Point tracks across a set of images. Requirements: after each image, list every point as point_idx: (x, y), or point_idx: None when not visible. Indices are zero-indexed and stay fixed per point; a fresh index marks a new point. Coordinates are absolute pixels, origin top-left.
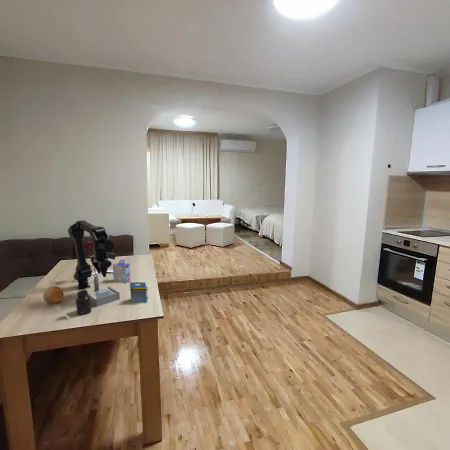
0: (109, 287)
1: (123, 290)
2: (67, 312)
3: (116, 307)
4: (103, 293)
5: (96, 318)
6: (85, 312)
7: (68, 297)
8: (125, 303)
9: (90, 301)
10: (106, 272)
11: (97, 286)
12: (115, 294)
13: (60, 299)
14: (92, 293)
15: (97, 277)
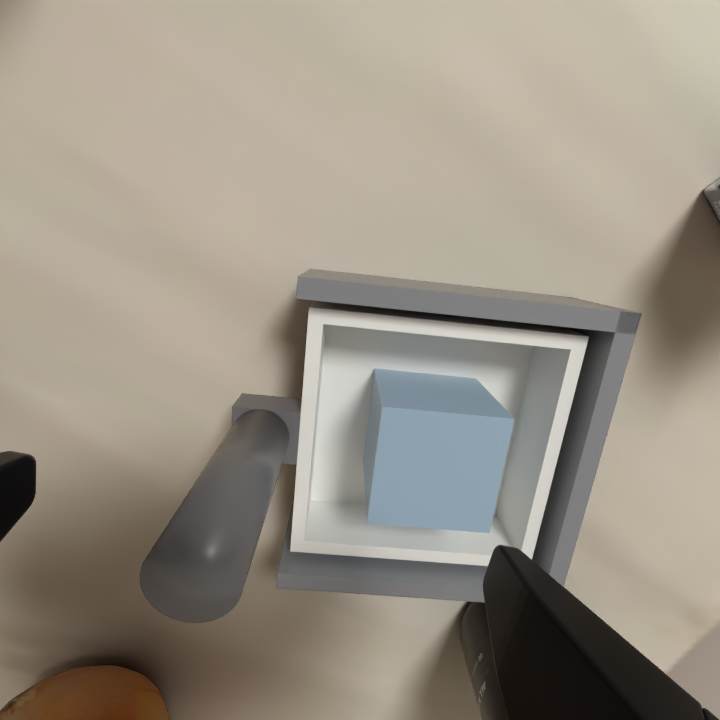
0: (348, 300)
1: (344, 69)
2: (377, 683)
3: (666, 408)
4: (495, 479)
5: (669, 603)
6: None
7: (61, 574)
8: (682, 299)
9: None
10: (658, 676)
11: (278, 473)
12: (616, 369)
13: (161, 716)
14: (306, 509)
15: (211, 558)
